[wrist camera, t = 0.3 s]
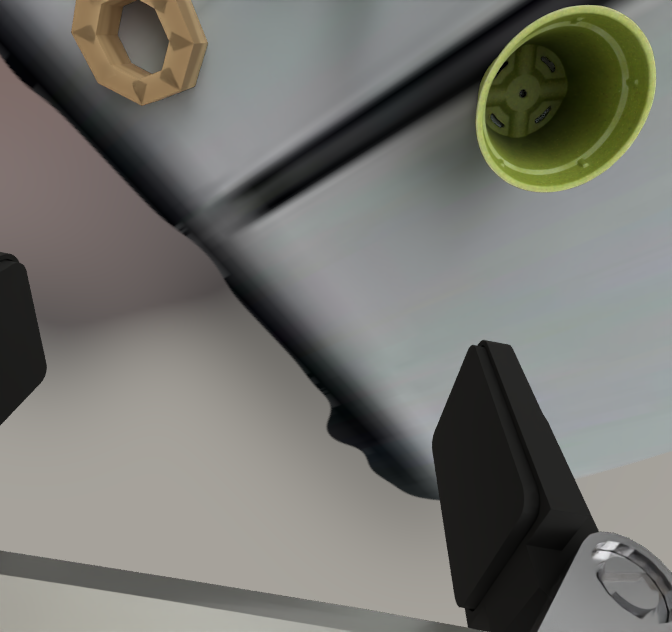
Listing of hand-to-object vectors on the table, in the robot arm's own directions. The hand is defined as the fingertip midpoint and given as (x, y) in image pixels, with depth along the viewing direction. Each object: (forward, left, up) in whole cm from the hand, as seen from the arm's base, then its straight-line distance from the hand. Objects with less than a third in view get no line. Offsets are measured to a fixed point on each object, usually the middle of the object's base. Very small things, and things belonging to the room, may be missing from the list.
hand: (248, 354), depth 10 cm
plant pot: (-8, +11, -29) cm, 32 cm away
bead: (+1, -14, -29) cm, 32 cm away
